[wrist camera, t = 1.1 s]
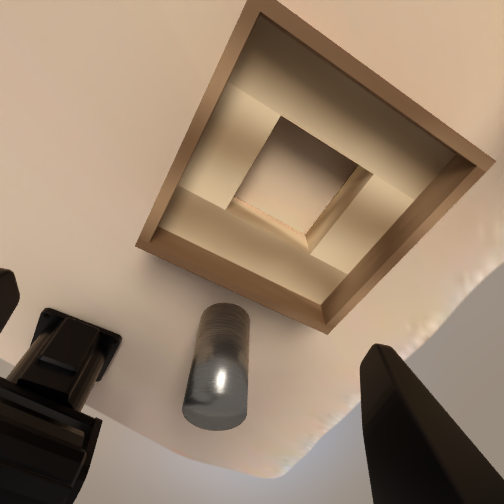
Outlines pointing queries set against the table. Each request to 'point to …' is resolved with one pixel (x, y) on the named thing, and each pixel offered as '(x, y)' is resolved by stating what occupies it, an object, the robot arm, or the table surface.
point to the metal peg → (219, 370)
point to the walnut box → (331, 133)
